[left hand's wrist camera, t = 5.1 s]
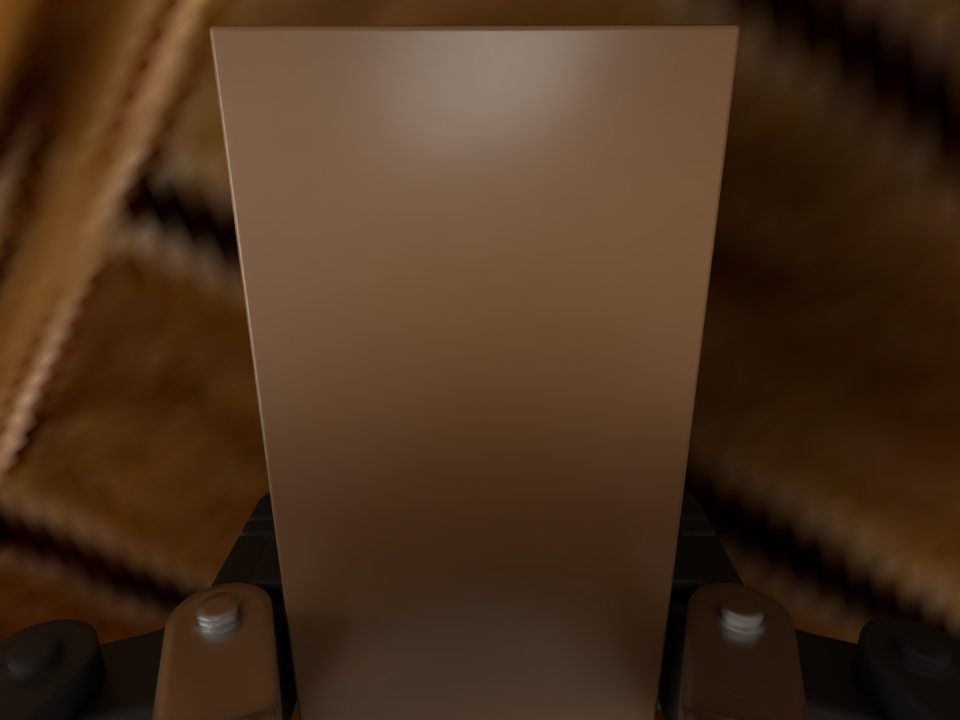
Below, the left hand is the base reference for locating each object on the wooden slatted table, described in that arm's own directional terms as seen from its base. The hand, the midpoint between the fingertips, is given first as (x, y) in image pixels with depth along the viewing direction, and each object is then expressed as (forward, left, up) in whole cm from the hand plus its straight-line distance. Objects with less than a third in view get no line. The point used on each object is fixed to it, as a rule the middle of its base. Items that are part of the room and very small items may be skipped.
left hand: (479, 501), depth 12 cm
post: (+16, +11, -2) cm, 20 cm away
